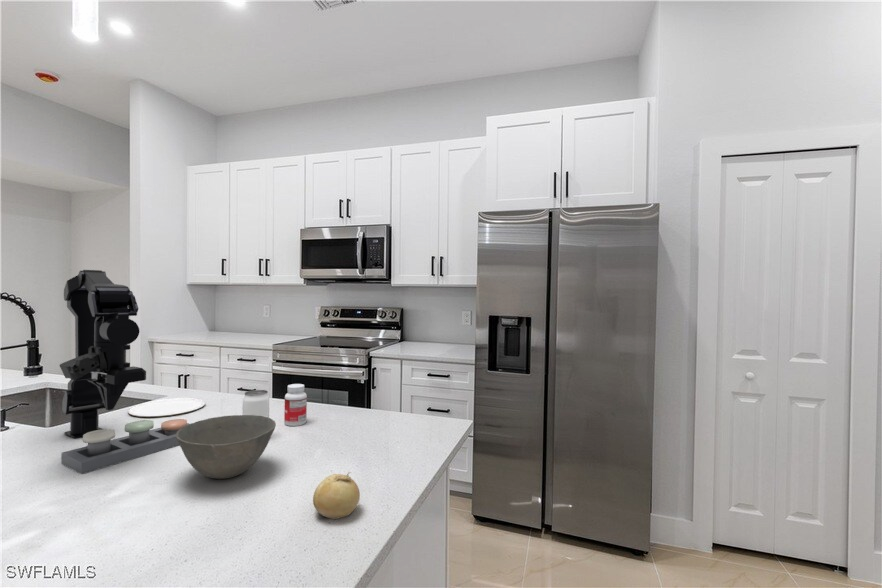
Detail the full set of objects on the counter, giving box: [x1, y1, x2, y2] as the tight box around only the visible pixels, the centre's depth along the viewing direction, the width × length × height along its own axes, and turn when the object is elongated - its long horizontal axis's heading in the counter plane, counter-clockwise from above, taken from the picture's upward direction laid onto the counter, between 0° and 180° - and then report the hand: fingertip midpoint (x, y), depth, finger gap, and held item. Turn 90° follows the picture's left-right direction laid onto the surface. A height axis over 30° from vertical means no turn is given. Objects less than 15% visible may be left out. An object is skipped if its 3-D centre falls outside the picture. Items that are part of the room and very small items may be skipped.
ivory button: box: [82, 428, 116, 455], centre depth 94 cm, size 6×6×4 cm
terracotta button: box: [160, 418, 188, 436], centre depth 108 cm, size 6×6×4 cm
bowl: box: [176, 414, 277, 480], centre depth 89 cm, size 19×19×10 cm
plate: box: [127, 397, 206, 418], centre depth 135 cm, size 21×21×1 cm
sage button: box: [124, 419, 155, 444], centre depth 101 cm, size 6×6×4 cm
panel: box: [60, 422, 190, 475], centre depth 101 cm, size 10×26×2 cm, turn 150°
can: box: [241, 389, 270, 418], centre depth 111 cm, size 6×6×12 cm
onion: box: [312, 471, 361, 520], centre depth 75 cm, size 8×8×7 cm
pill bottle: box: [283, 383, 308, 427], centre depth 123 cm, size 6×6×11 cm
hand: (109, 409), depth 96 cm, fingers closed
